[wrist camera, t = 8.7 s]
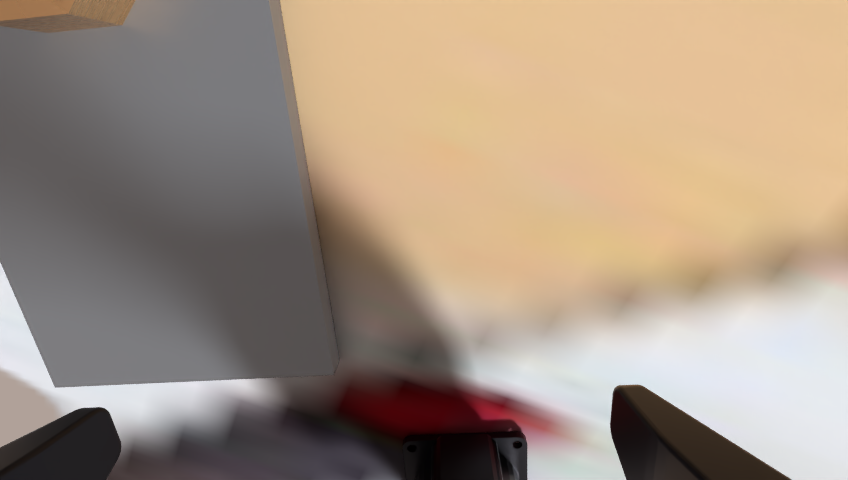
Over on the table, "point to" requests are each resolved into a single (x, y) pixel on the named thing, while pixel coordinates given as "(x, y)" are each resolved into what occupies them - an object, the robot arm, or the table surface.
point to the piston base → (162, 199)
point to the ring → (63, 14)
